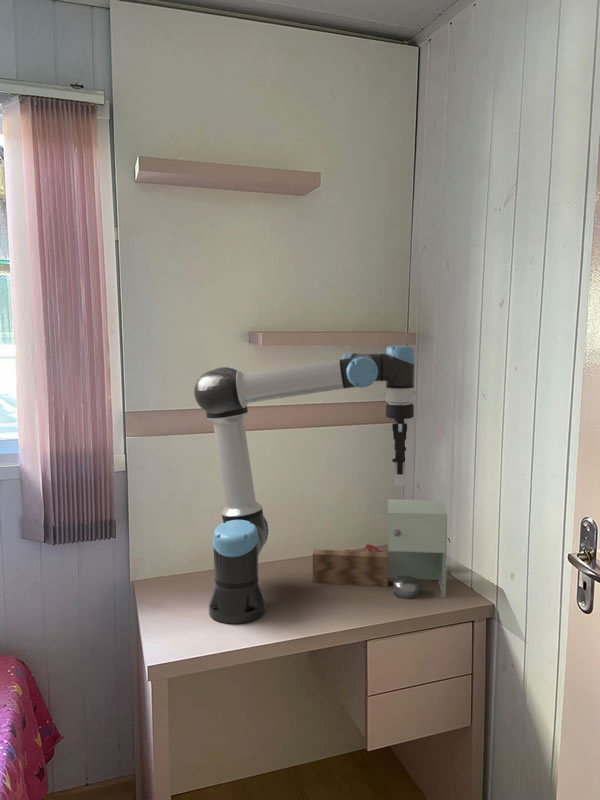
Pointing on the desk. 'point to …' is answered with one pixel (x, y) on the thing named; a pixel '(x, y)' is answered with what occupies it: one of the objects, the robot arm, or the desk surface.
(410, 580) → the silver metal dome
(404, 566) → the green bedside cabinet
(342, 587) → the desk surface
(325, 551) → the brown wooden block
